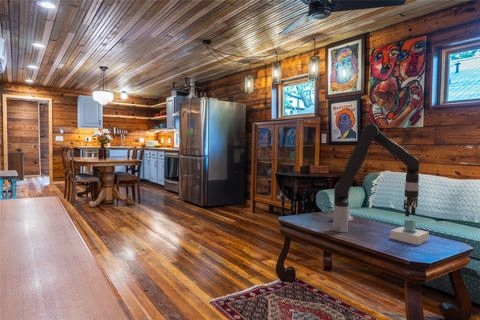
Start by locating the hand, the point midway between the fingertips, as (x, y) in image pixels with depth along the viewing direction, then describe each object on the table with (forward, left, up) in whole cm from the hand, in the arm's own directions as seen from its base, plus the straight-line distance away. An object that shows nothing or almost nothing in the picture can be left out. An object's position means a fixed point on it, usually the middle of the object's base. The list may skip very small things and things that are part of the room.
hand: (410, 215), depth 193 cm
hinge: (+11, +53, -15) cm, 56 cm away
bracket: (0, 0, -14) cm, 14 cm away
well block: (0, 0, -15) cm, 15 cm away
